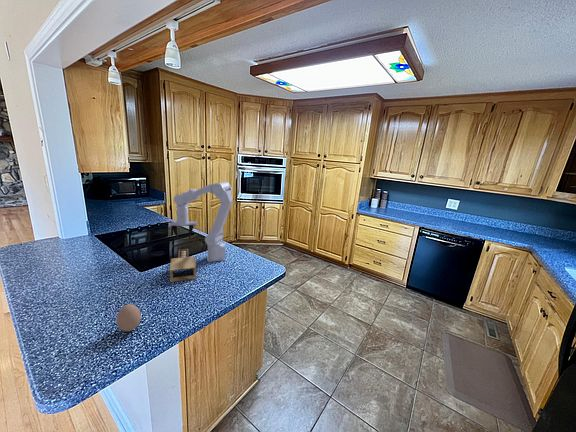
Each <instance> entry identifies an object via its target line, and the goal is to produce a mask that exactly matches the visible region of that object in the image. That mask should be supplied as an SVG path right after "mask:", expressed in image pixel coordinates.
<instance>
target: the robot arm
mask: <svg viewBox="0 0 576 432" xmlns="http://www.w3.org/2000/svg"><path fill="white" fill-rule="evenodd" d="M232 190H233V187H232V186H231V184H230V183H229V182H228V181H222V182H216V183H211V184H208V185H205V186H202V187H201V188H199V189H195V188H189V189H188V190H187V191H183V192H181V194H176V195H175V196H173V202H174V203H175V205H176V218H177V219H176V221H174V222H173V221H172V222H168V228H171V230H172V231H173V233H174V235H175V238H176V240H178V239H179V234H178V227H188V239H191V235H192V232H193V230H194V227H196V226H198V225H197V224H198V223H197V221H189V203H191V202H193V201H196V200H198V199H200V196H202V195H205V194H208V193H210V194H213V195H214V196H215V197H216V198H217V199H218V200H219V201H220V204H219V207H218V209H217V210H218V211H217V213H216V217H215V220H214V222H213V225H212V227H211V229H210V230H209V232H208V234H207V235H206V236H205V239H204V241H205V244H206V245H207V255H206V260H207V263H212V262H222V261H226V244H225V243H224V242H222V240H223V239H224V232H225V231H224V230H223V229H224V226H225V223H226V220H227V217H228V214H229V212H230V209H231V207H232V205H233V204H232V203H233V195H232Z"/></svg>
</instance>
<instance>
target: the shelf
mask: <svg viewBox="0 0 576 432" xmlns="http://www.w3.org/2000/svg"><path fill="white" fill-rule="evenodd" d="M169 264H170V265H169V267H170V268H169V279H170V281H169V282H170V283H172V282H178V281H179V282H180V281H187V280H195V279H197V264H196V256H189V257H184V258H178V257H176V258H175V257H174V258H173V257H172V258H170V263H169ZM190 269H192V271H193V272H192V273H193V274H191V275H184V276H182V275H181V276H174V273H175V271H181V270H190Z"/></svg>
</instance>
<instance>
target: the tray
mask: <svg viewBox="0 0 576 432" xmlns="http://www.w3.org/2000/svg"><path fill="white" fill-rule="evenodd" d="M177 252H178V254H177V255H178V256H177V258H184V257H190V256H189V255H190V252H189V248H183V249H178V251H177Z"/></svg>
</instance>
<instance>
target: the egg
mask: <svg viewBox="0 0 576 432" xmlns="http://www.w3.org/2000/svg"><path fill="white" fill-rule="evenodd" d="M141 317H142V315H141V311H140V309H139V308H138V307H137V306H136V305H135V304H132V303H129V304H126V305H124V306H122V307H121V308H120V309H119V311H118V313H117V315H116V326H117V327H118V329H120V330H121V331H122V332H131V331H133V330H135V329H136V328H137V327H138V325H140V322H141V319H142V318H141Z"/></svg>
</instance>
